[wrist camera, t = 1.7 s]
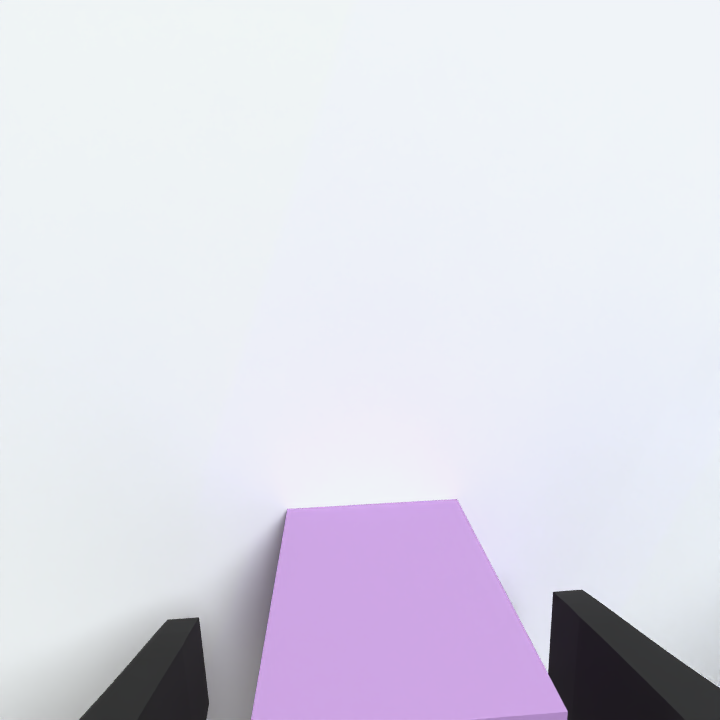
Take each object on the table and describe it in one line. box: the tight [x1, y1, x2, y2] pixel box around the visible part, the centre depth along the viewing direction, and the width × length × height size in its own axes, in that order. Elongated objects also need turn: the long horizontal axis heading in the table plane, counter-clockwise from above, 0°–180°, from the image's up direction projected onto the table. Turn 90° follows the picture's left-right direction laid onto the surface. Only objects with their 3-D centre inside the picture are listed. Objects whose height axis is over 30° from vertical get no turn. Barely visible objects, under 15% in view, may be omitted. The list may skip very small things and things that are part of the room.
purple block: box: [251, 499, 568, 720], centre depth 9 cm, size 4×4×6 cm
